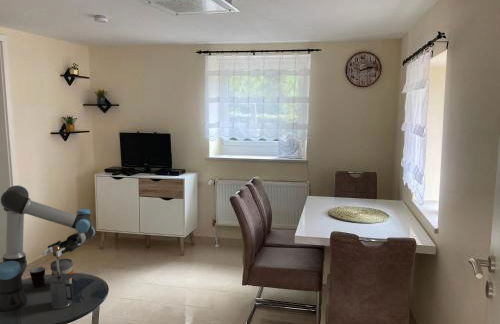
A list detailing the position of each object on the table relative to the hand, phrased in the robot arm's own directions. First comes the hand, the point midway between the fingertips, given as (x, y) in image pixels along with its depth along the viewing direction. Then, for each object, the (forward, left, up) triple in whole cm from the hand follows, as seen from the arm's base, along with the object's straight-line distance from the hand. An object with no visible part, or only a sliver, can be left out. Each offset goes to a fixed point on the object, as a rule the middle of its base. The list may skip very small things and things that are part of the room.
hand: (50, 254), depth 222 cm
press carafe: (+1, +5, -32) cm, 32 cm away
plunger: (0, +5, -19) cm, 20 cm away
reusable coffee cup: (-14, +27, -32) cm, 44 cm away
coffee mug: (-30, +27, -32) cm, 51 cm away
